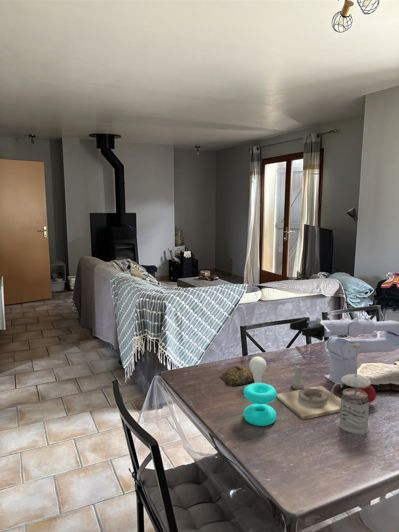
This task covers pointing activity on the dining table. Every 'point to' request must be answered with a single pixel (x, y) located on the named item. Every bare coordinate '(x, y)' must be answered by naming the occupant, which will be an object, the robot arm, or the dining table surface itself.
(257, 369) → the lightbulb
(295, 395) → the ring board
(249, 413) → the donuts
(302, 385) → the rook chess piece
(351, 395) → the french press
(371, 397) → the pomegranate
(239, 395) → the dining table surface
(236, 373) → the bread roll
